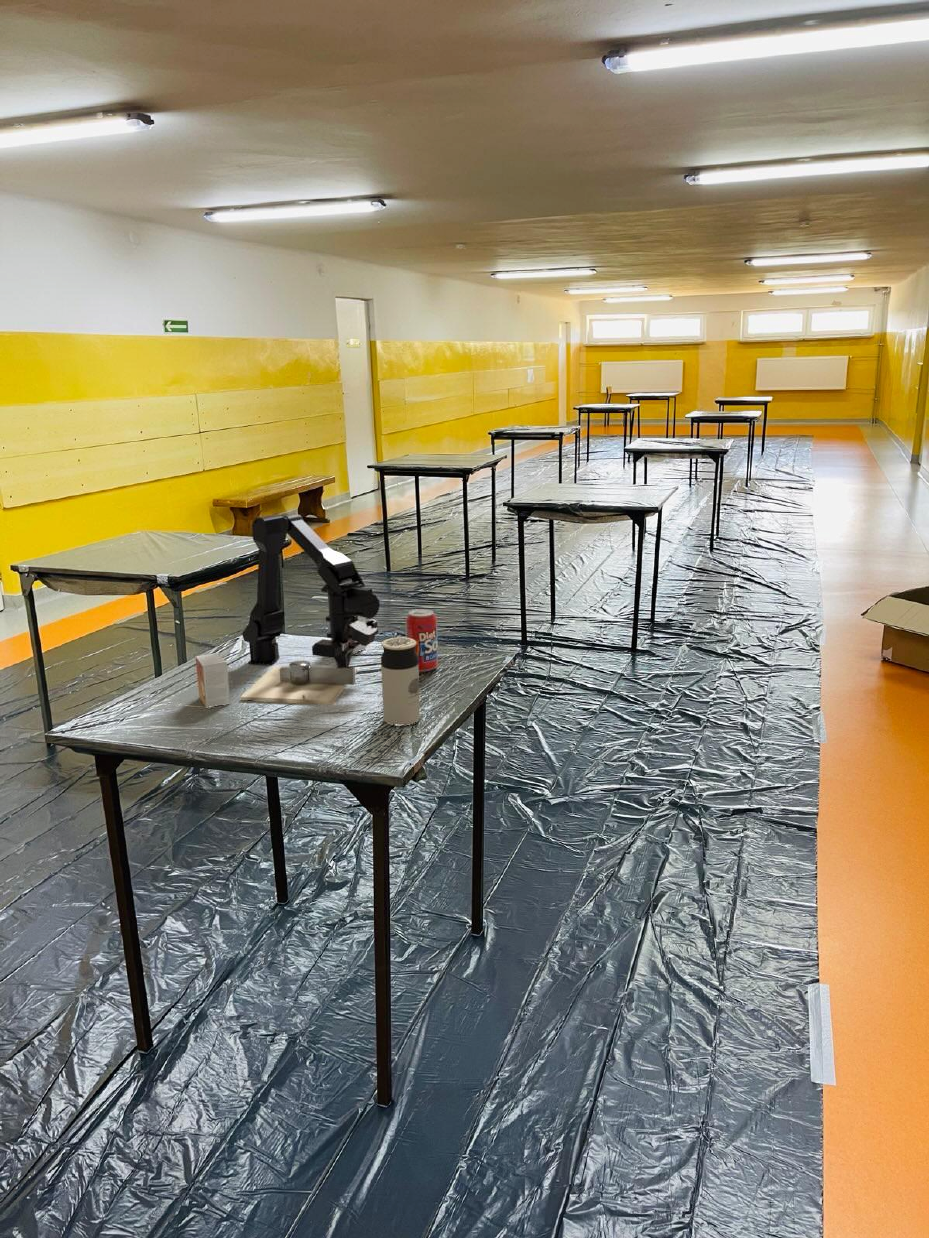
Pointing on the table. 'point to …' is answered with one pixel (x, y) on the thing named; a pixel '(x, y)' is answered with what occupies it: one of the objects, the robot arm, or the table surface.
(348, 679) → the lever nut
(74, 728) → the table surface
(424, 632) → the soda can
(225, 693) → the small box
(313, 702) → the base plate
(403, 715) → the travel mug
